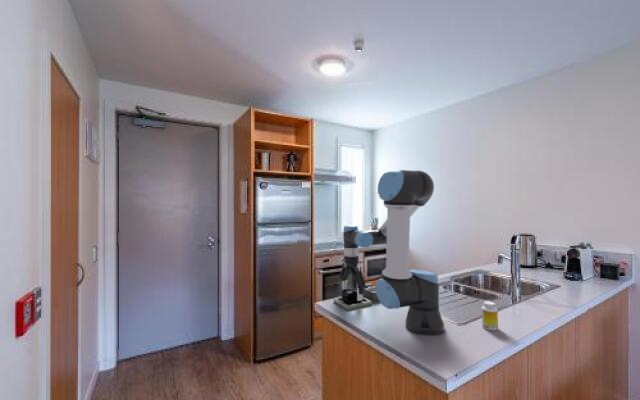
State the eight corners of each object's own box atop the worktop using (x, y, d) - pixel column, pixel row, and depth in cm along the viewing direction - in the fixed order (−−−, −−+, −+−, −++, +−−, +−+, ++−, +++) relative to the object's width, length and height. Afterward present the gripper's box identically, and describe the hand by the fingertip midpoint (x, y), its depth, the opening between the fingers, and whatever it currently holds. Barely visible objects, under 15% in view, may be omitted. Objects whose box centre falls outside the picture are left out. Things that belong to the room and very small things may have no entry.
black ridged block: (358, 298, 153) (358, 286, 153) (364, 303, 146) (364, 290, 147) (341, 301, 150) (340, 288, 150) (346, 305, 143) (346, 292, 143)
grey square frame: (371, 305, 146) (371, 301, 146) (348, 310, 139) (347, 306, 139) (356, 297, 158) (356, 293, 158) (333, 302, 151) (333, 298, 151)
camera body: (384, 300, 153) (384, 288, 153) (373, 302, 150) (373, 290, 150) (370, 294, 163) (370, 283, 163) (360, 296, 160) (360, 284, 160)
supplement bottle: (500, 331, 114) (500, 305, 114) (486, 330, 115) (485, 305, 115) (493, 325, 120) (493, 300, 120) (479, 324, 120) (479, 300, 120)
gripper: (372, 258, 139) (373, 302, 139) (344, 251, 161) (345, 289, 161) (359, 260, 136) (360, 305, 136) (332, 252, 158) (333, 291, 158)
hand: (352, 296), depth 148 cm, fingers open, 13 cm apart
